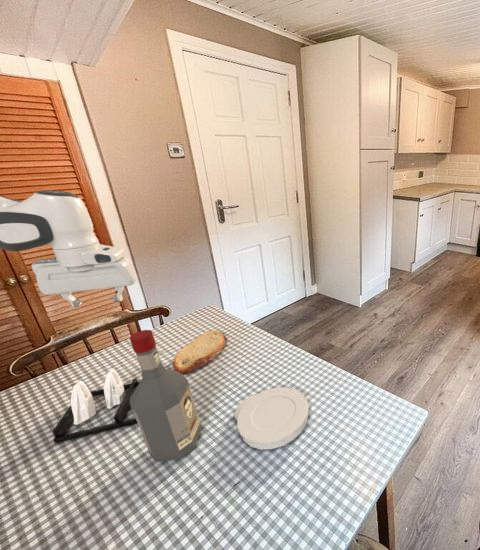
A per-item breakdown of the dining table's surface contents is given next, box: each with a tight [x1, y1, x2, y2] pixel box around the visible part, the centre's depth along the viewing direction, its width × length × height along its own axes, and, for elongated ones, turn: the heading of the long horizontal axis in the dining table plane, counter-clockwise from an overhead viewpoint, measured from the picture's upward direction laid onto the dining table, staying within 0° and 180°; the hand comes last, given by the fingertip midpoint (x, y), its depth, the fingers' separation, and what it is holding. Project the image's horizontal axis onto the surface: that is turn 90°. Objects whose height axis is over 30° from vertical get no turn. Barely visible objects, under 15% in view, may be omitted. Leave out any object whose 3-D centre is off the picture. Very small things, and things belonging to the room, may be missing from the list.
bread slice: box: [172, 330, 226, 375], centre depth 102 cm, size 18×18×4 cm
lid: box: [233, 386, 310, 450], centre depth 77 cm, size 17×20×3 cm
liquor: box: [129, 329, 203, 463], centre depth 65 cm, size 9×9×30 cm
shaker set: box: [70, 368, 126, 426], centre depth 78 cm, size 12×4×11 cm, turn 153°
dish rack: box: [51, 378, 140, 444], centre depth 80 cm, size 19×16×3 cm
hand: (98, 303), depth 83 cm, fingers open, 8 cm apart
